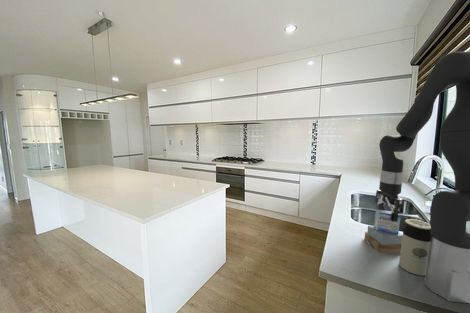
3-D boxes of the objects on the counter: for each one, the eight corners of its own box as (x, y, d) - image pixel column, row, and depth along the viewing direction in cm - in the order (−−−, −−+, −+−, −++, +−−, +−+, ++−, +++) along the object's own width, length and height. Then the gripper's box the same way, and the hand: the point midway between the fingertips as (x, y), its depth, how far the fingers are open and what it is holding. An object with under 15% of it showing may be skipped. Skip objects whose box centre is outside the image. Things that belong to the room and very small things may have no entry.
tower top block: (402, 244, 83) (403, 235, 82) (382, 244, 82) (383, 235, 82) (385, 233, 92) (386, 225, 91) (367, 233, 91) (368, 225, 91)
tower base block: (402, 254, 82) (403, 245, 82) (377, 252, 83) (378, 244, 83) (386, 241, 92) (387, 233, 92) (364, 240, 93) (365, 232, 93)
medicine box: (376, 231, 86) (378, 212, 85) (373, 226, 90) (375, 208, 89) (398, 234, 83) (401, 215, 82) (394, 230, 87) (397, 211, 86)
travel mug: (398, 259, 78) (404, 216, 76) (426, 267, 74) (432, 222, 71) (399, 269, 72) (404, 223, 70) (428, 279, 67) (436, 231, 65)
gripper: (413, 186, 77) (408, 224, 79) (388, 178, 91) (385, 211, 93) (393, 185, 78) (388, 223, 79) (371, 177, 92) (368, 210, 94)
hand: (386, 217), depth 86 cm, fingers open, 8 cm apart
